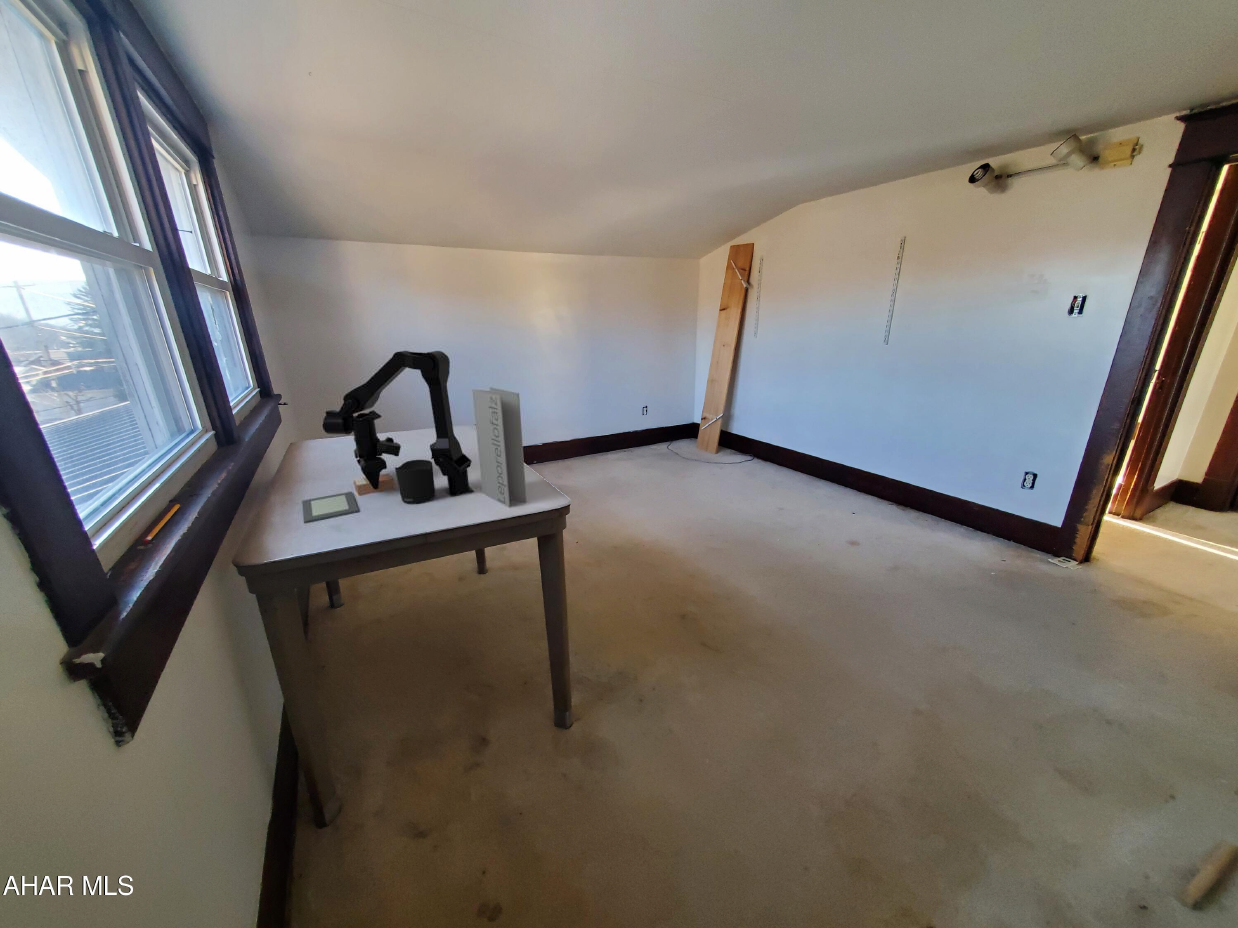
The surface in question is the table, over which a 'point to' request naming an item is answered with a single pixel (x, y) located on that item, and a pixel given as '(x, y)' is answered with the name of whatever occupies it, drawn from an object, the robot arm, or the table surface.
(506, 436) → the brochure
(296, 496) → the table surface
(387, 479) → the block
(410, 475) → the pen holder
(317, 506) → the mat
